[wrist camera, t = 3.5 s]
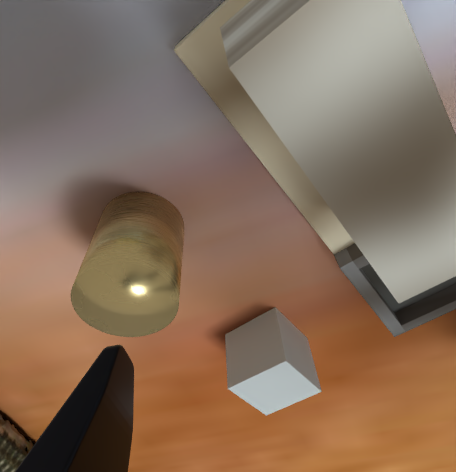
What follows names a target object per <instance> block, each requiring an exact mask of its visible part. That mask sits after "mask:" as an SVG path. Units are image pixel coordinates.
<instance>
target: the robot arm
mask: <svg viewBox="0 0 456 472" xmlns="http://www.w3.org/2000/svg"><path fill="white" fill-rule="evenodd" d="M133 398H134V367H133V363H132V361H131V359H130V358H129V356H128V354H127V353H126V351H125V349H124V348H123V346H121V345H114V346H109V347H106V348H105V349H103V351H102V352H101V353H100V355H99V356H98V358H97V359H96V360H95V362H94V363H93V364H92V366H91V367H90V369H89V370H88V371H87V373H86V374H85V376H84V377H83V378H82V380H81V381H80V382H79V384H78V385H77V387H76V388H75V389H74V391H73V392H72V393H71V395H70V396H69V398H68V399H67V400H66V402H65V403H64V405H63V406H62V407H61V409H60V410H59V411H58V413H57V414H56V416H55V417H54V418H53V420H52V421H51V423H50V424H49V425H48V427H47V428H46V429H45V431H44V432H43V434H42V435H41V436H40V438H39V439H38V440H37V442H36V443H35V445H34V446H33V447H32V449H31V450H30V452H29V453H28V454H27V456H26V457H25V458H24V460H23V461H22V463H21V464H20V465H19V467H18V468H17V470H16V471H15V472H128V465H129V457H130V449H131V442H132V432H133Z"/></svg>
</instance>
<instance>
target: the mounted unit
mask: <svg viewBox="0 0 456 472" xmlns="http://www.w3.org/2000/svg"><path fill="white" fill-rule="evenodd" d="M174 51H175V53H176V54H177V55H178V56H179V58H180V59H181V60H182V62H183V63H184V64H185V65H186V67H187V68H188V69H189V70H190V72H191V73H192V74H193V76H194V77H195V78H196V79H197V81H198V82H199V83H200V84H201V86H202V87H203V88H204V90H205V91H206V92H207V93H208V95H209V96H210V97H211V99H212V100H213V101H214V102H215V104H216V105H217V106H218V107H219V109H220V110H221V111H222V113H223V114H224V115H225V116H226V118H227V119H228V120H229V121H230V123H231V124H232V125H233V127H234V128H235V129H236V130H237V132H238V133H239V134H240V135H241V137H242V138H243V139H244V141H245V142H246V143H247V144H248V146H249V147H250V148H251V150H252V151H253V152H254V153H255V155H256V156H257V157H258V158H259V160H260V161H261V162H262V164H263V165H264V166H265V167H266V169H267V170H268V171H269V172H270V174H271V175H272V176H273V178H274V179H275V180H276V181H277V183H278V184H279V185H280V187H281V188H282V189H283V190H284V192H285V193H286V194H287V195H288V197H289V198H290V199H291V201H292V202H293V203H294V204H295V206H296V207H297V208H298V209H299V211H300V212H301V213H302V215H303V216H304V217H305V218H306V220H307V221H308V222H309V223H310V225H311V226H312V227H313V229H314V230H315V231H316V232H317V234H318V235H319V236H320V238H321V239H322V240H323V241H324V243H325V244H326V245H327V246H328V248H329V249H330V250H331V252H332V253H333V254H334V256H335V258H336V260H337V263H338V265H339V267H340V269H341V270H342V271H343V273H344V274H345V275H346V276H347V278H348V279H349V280H350V281H351V283H352V284H353V285H354V286H355V288H356V289H357V290H358V292H359V293H360V294H361V295H362V297H363V298H364V299H365V300H366V302H367V303H368V304H369V305H370V307H371V308H372V309H373V310H374V312H375V313H376V314H377V315H378V317H379V318H380V319H381V320H382V322H383V323H384V324H385V325H386V327H387V328H388V329H389V331H390V332H391V333H392V334H393V336H394V337H395V336H398V335H400V334H402V333H404V332H406V331H409V330H411V329H413V328H415V327H417V326H420V325H422V324H424V323H426V322H428V321H431V320H433V319H435V318H437V317H439V316H442V315H444V314H446V313H448V312H450V311H453V310H455V309H456V134H455V132H454V130H453V127H452V125H451V122H450V120H449V117H448V115H447V112H446V110H445V108H444V105H443V103H442V100H441V98H440V95H439V93H438V90H437V88H436V85H435V83H434V81H433V78H432V76H431V73H430V71H429V68H428V66H427V63H426V61H425V58H424V56H423V54H422V51H421V49H420V46H419V44H418V41H417V39H416V36H415V34H414V32H413V29H412V27H411V24H410V22H409V19H408V17H407V14H406V12H405V9H404V7H403V5H402V2H401V0H225V1H224V2H223V3H222V4H221V5H220V6H218V7H217V8H216V9H215V10H214V11H213V12H212V13H211V14H210V15H209V16H208V17H206V18H205V19H204V20H203V21H202V22H201V23H200V24H199V25H198V26H197V27H195V28H194V29H193V30H192V31H191V32H190V33H189V34H188V35H187V36H186V37H184V38H183V39H182V40H181V41H180V42H179V43H178V44H177V45H176V46H175V49H174Z"/></svg>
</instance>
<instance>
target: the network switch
mask: <svg viewBox="0 0 456 472" xmlns="http://www.w3.org/2000/svg"><path fill="white" fill-rule="evenodd" d="M6 421H7V422H6ZM29 441H30V443H29V442H28V441H26V439H25V438H24V436H23V435H22V434H20V433H19V432H18V431H17V429H16V428H15V427H14V425H12V426H11V424H10V422H9V421H8V420H5V421H4V420H3V418H2V416H1V415H0V472H15V471H16V470H17V468H18V467H19V465H20V464H21V463H22V461H23V460H24V458H25V457H26V456H27V454H28V453H29V452H30V450H31V449H32V447H33V444H32V441H31V440H29ZM26 446H27V451H28V453H27V452H26V451H25V448H26Z"/></svg>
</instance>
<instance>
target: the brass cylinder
mask: <svg viewBox="0 0 456 472" xmlns="http://www.w3.org/2000/svg"><path fill="white" fill-rule="evenodd" d="M183 242H184V222H183V219H182V216H181V214H180V213H179V211H178V210H177V209H176V207H175V206H174V205H173V204H171V203H170V202H169V201H167V200H166V199H164V198H162V197H160V196H158V195H155V194H152V193H147V192H130V193H126V194H123V195H120V196H118V197H116V198H115V199H113V200H112V201H111V202H110V203H109V204H108V205H107V206H106V207H105V209H104V211H103V213H102V216H101V218H100V221H99V223H98V225H97V228H96V230H95V233H94V235H93V238H92V240H91V243H90V245H89V248H88V250H87V252H86V255H85V257H84V260H83V262H82V265H81V267H80V270H79V272H78V275H77V277H76V279H75V282H74V284H73V287H72V290H71V301H72V305H73V307H74V309H75V311H76V313H77V314H78V315H79V316H80V318H81V319H82V320H84V321H85V322H86V323H87V324H89V325H90V326H92V327H94V328H95V329H97V330H100V331H102V332H105V333H108V334H111V335H116V336H123V337H138V336H145V335H149V334H152V333H155V332H158V331H160V330H161V329H163V328H165V327H166V326H167V325H168V324H170V323H171V322H172V320H173V319H174V318H175V316H176V314H177V311H178V306H179V294H180V281H181V268H182V255H183Z"/></svg>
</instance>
